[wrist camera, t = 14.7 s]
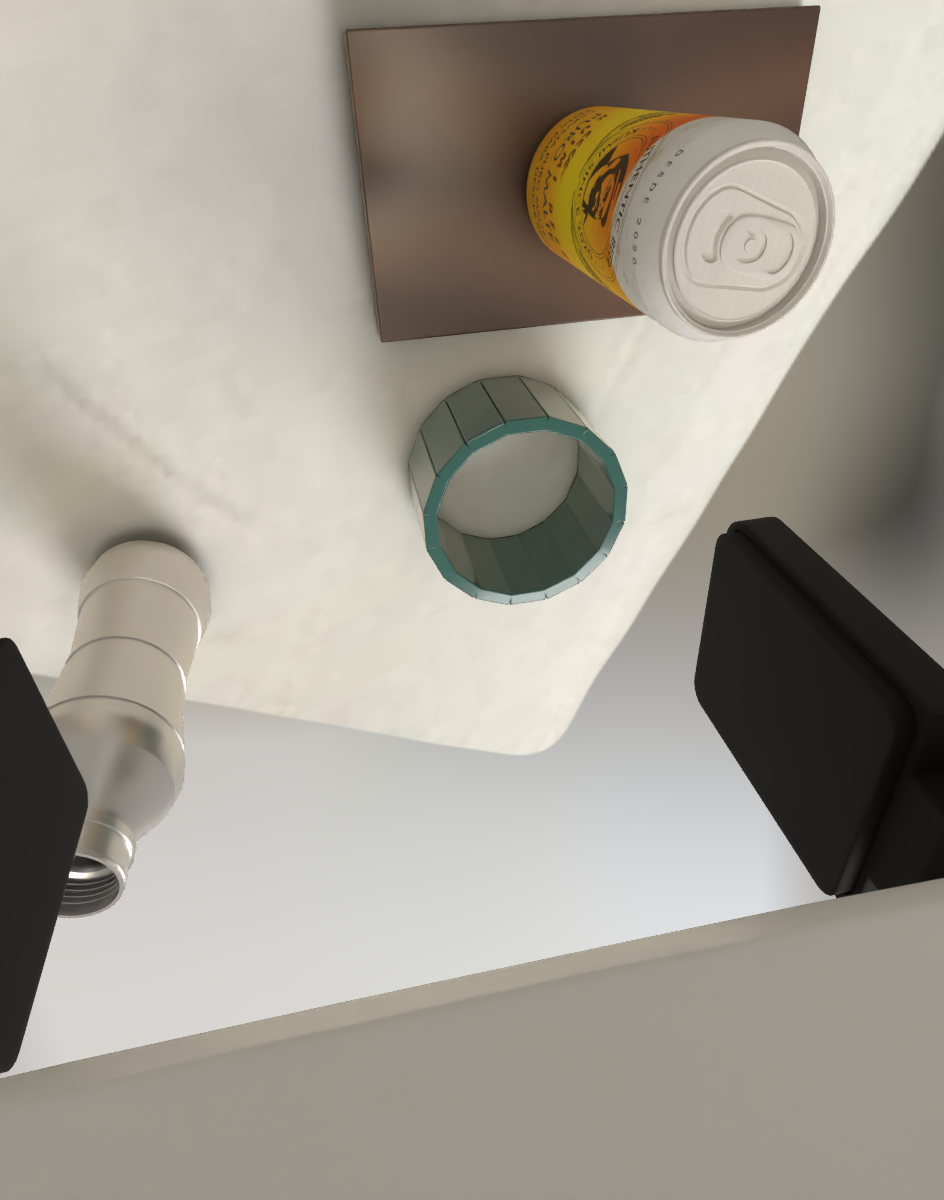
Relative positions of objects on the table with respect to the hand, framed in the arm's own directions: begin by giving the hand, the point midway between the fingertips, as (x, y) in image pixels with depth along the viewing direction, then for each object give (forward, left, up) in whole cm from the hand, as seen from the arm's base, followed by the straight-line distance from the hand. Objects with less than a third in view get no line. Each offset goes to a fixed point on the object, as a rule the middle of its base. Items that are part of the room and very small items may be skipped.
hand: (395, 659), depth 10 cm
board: (-2, +12, -30) cm, 33 cm away
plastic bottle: (+16, -12, -31) cm, 36 cm away
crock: (+12, +8, -30) cm, 34 cm away
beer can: (-2, +12, -29) cm, 31 cm away
